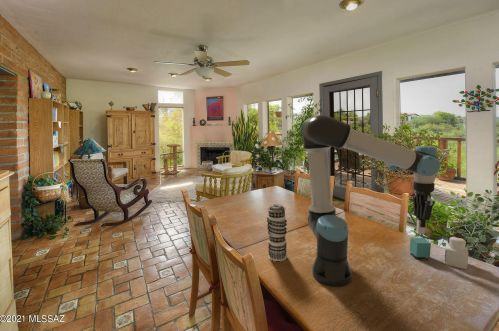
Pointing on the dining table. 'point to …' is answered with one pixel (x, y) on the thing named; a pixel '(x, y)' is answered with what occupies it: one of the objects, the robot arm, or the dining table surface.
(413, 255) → the dark grey upright block
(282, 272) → the dining table surface
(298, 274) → the dining table surface
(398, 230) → the dining table surface
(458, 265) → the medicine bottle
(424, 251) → the teal cube
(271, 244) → the model tower building
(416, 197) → the robot arm
